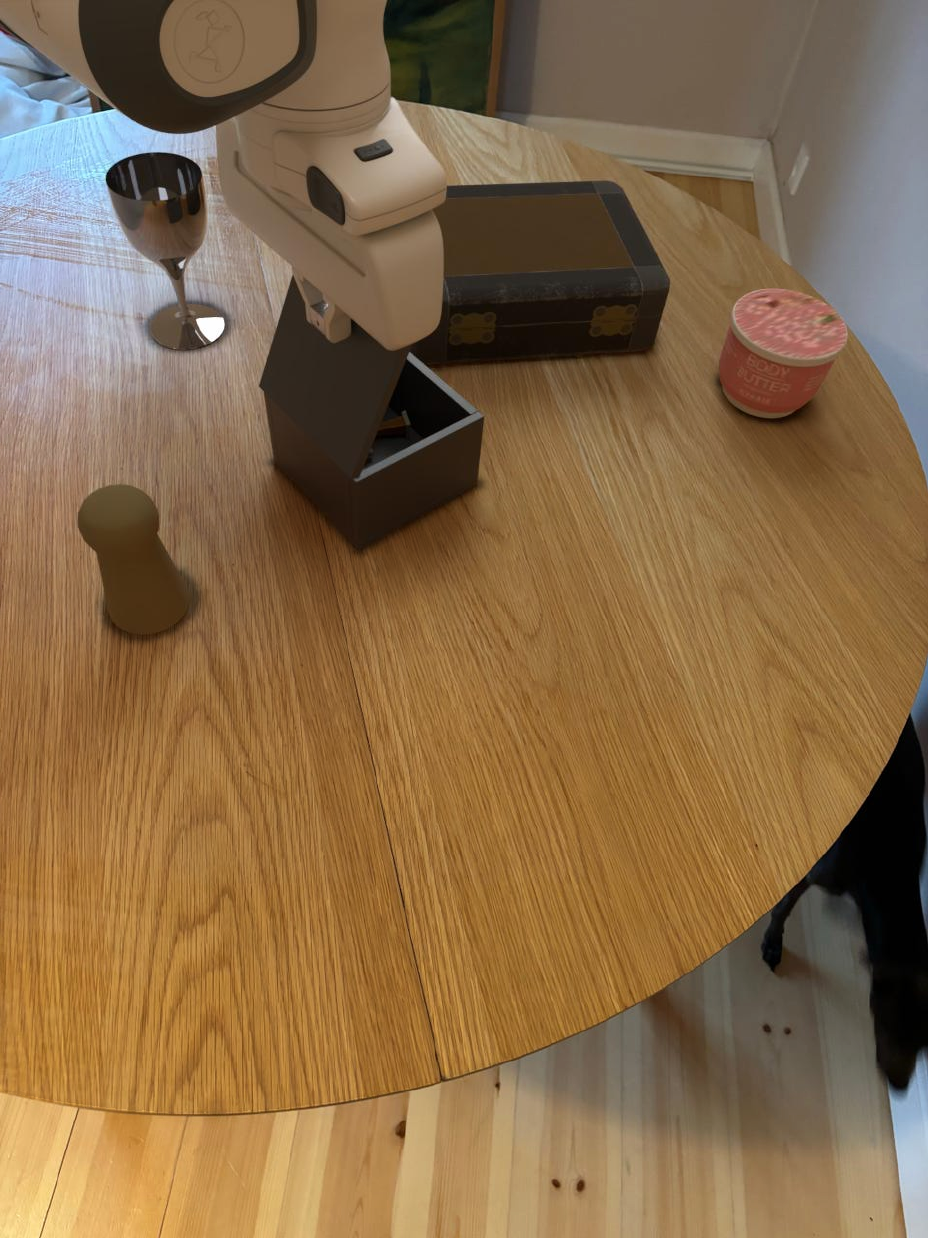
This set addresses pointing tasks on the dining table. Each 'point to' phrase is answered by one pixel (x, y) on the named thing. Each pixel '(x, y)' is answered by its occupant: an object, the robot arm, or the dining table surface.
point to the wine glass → (166, 235)
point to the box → (389, 459)
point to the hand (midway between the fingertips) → (329, 329)
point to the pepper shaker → (133, 560)
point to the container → (778, 351)
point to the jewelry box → (543, 274)
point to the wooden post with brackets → (394, 428)
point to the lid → (331, 383)
